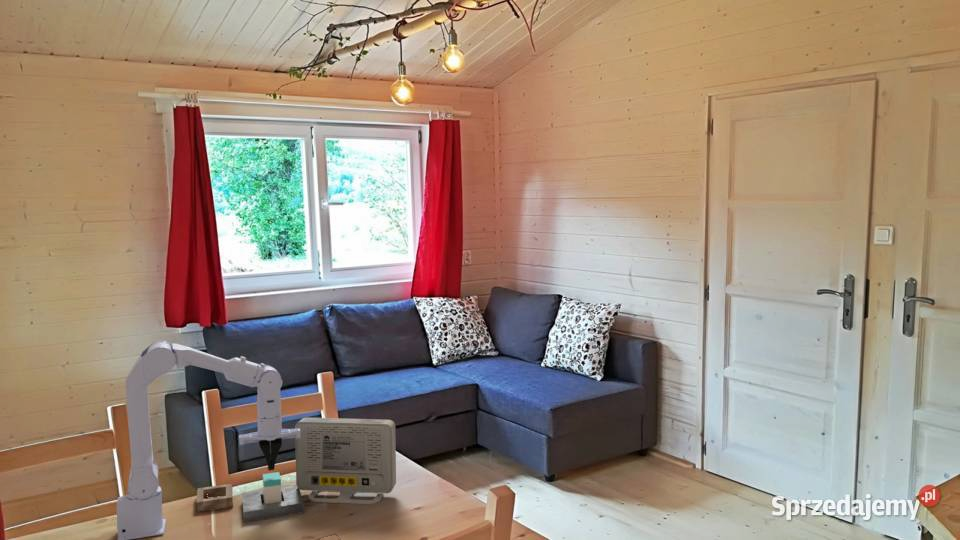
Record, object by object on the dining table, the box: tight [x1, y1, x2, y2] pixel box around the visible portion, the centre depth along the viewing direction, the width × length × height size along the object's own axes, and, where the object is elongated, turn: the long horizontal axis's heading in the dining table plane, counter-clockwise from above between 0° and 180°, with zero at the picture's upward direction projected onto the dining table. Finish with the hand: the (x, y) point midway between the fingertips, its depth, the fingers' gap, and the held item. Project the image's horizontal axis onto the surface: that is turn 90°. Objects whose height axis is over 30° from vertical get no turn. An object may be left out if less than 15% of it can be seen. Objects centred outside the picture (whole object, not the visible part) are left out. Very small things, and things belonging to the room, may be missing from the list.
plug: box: [262, 471, 283, 504], centre depth 171 cm, size 4×5×8 cm
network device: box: [294, 417, 397, 505], centre depth 177 cm, size 26×9×20 cm, turn 84°
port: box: [241, 485, 305, 523], centre depth 171 cm, size 14×12×2 cm
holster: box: [196, 483, 234, 513], centre depth 175 cm, size 8×9×2 cm
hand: (271, 468), depth 171 cm, fingers closed
